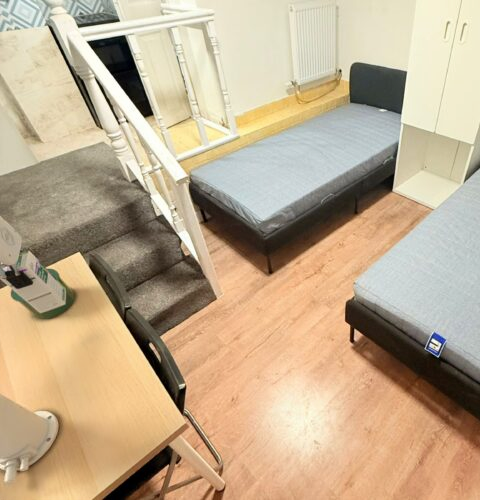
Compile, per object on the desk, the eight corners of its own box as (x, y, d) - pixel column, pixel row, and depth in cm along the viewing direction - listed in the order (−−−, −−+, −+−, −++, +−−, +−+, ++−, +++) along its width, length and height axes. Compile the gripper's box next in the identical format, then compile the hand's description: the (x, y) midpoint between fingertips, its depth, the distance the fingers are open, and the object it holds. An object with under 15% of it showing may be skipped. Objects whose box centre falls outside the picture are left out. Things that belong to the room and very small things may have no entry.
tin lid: (65, 286, 101) (56, 276, 98) (17, 310, 95) (6, 301, 92) (54, 264, 108) (46, 254, 104) (9, 286, 102) (-2, 276, 98)
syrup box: (66, 304, 82) (27, 265, 72) (39, 314, 81) (-5, 275, 70) (66, 288, 86) (29, 248, 76) (40, 297, 84) (-1, 258, 74)
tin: (79, 303, 107) (62, 285, 100) (38, 325, 102) (17, 307, 95) (69, 283, 113) (52, 265, 107) (30, 303, 108) (10, 284, 101)
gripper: (-22, 235, 59) (42, 296, 72) (-5, 186, 70) (48, 247, 83) (-74, 249, 57) (1, 310, 70) (-48, 196, 68) (13, 257, 81)
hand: (26, 275), depth 76 cm, fingers closed on syrup box, 5 cm apart
